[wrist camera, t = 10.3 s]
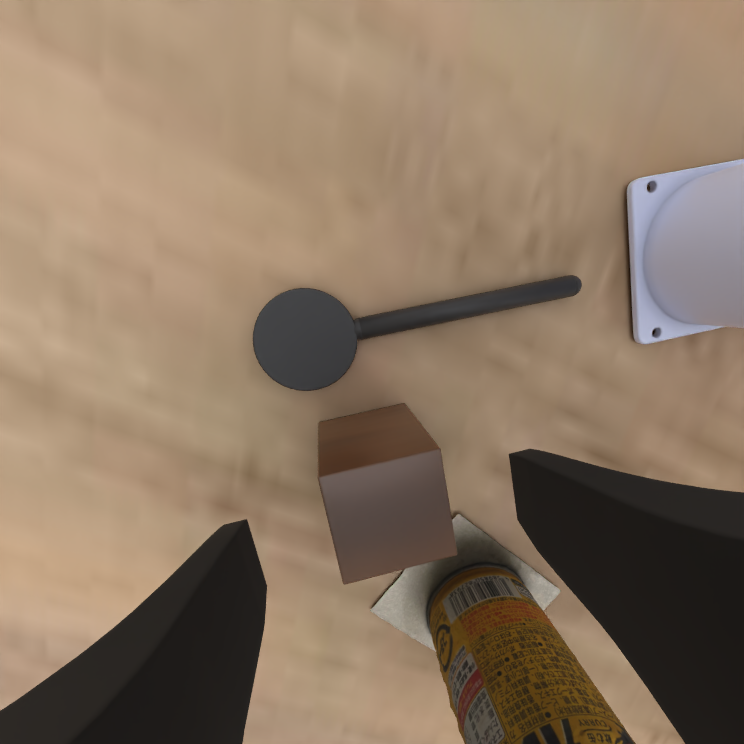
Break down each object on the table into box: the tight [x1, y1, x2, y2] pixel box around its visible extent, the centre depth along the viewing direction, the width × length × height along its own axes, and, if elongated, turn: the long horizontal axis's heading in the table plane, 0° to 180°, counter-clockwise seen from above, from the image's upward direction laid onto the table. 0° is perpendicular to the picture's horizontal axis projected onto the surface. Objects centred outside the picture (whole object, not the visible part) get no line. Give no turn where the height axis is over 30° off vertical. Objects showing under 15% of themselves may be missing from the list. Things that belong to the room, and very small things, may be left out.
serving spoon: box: [253, 275, 582, 391], centre depth 19 cm, size 16×5×1 cm, turn 101°
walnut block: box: [318, 403, 457, 584], centre depth 17 cm, size 4×4×6 cm
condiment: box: [370, 514, 636, 744], centre depth 17 cm, size 7×8×12 cm
